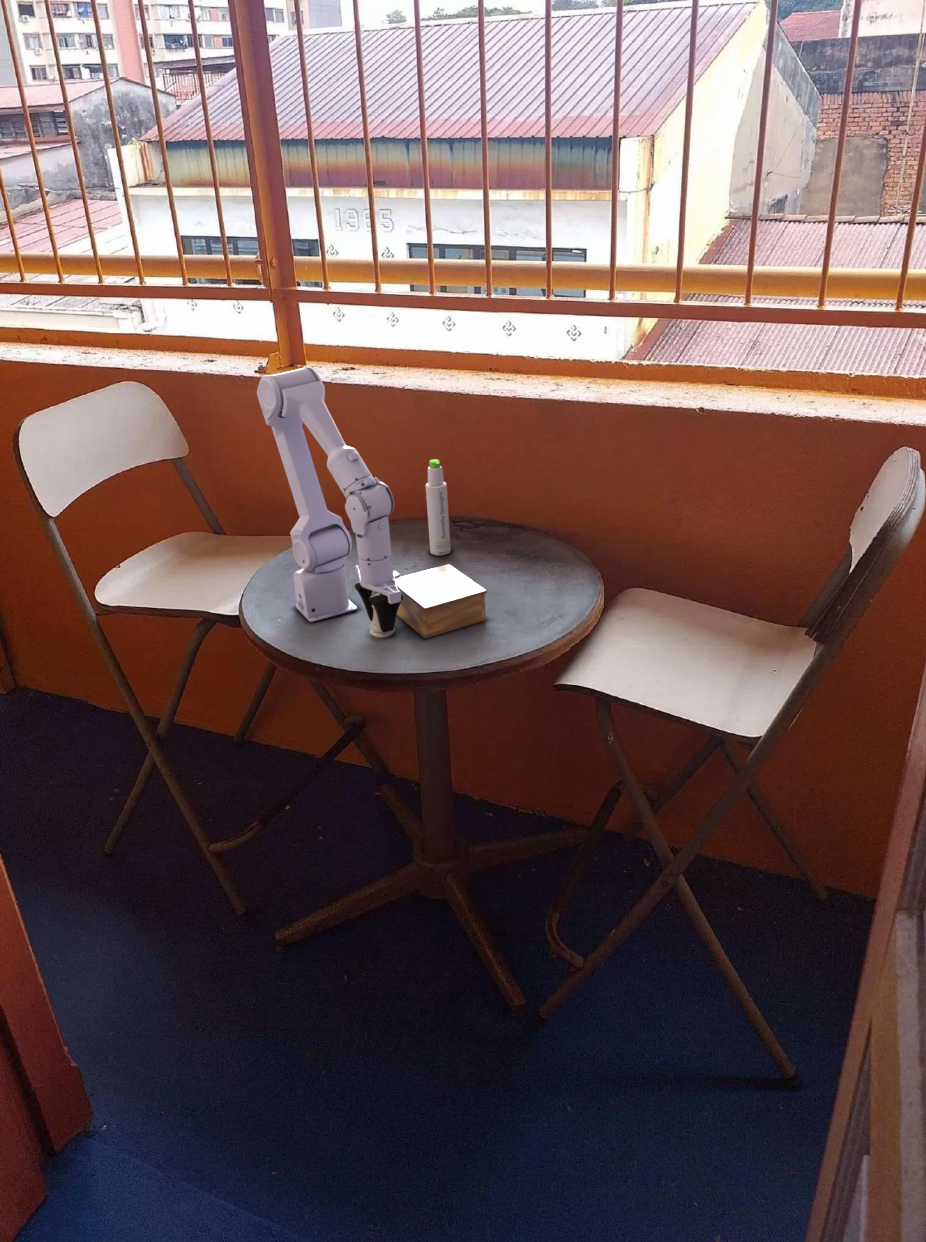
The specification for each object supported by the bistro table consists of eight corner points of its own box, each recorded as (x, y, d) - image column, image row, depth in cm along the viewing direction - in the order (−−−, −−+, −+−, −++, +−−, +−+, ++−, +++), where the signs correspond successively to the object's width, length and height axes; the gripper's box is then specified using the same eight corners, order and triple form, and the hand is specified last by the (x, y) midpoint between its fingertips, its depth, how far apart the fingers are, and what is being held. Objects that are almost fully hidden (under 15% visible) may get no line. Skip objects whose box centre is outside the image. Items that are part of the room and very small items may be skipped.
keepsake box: (485, 620, 167) (484, 591, 164) (424, 638, 162) (422, 609, 159) (450, 594, 177) (448, 567, 175) (392, 610, 172) (389, 582, 169)
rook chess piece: (400, 632, 164) (396, 591, 160) (380, 641, 161) (376, 600, 158) (384, 624, 167) (380, 584, 163) (365, 633, 164) (360, 593, 161)
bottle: (431, 556, 194) (425, 464, 185) (429, 548, 198) (422, 458, 189) (452, 554, 195) (446, 462, 185) (449, 546, 198) (443, 456, 189)
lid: (487, 593, 163) (486, 590, 163) (424, 611, 158) (424, 608, 158) (448, 566, 175) (448, 563, 174) (389, 582, 169) (389, 579, 169)
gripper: (414, 562, 153) (420, 634, 159) (378, 536, 165) (385, 604, 171) (375, 573, 150) (383, 645, 156) (341, 545, 162) (350, 614, 168)
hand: (381, 625), depth 163 cm, fingers open, 4 cm apart
